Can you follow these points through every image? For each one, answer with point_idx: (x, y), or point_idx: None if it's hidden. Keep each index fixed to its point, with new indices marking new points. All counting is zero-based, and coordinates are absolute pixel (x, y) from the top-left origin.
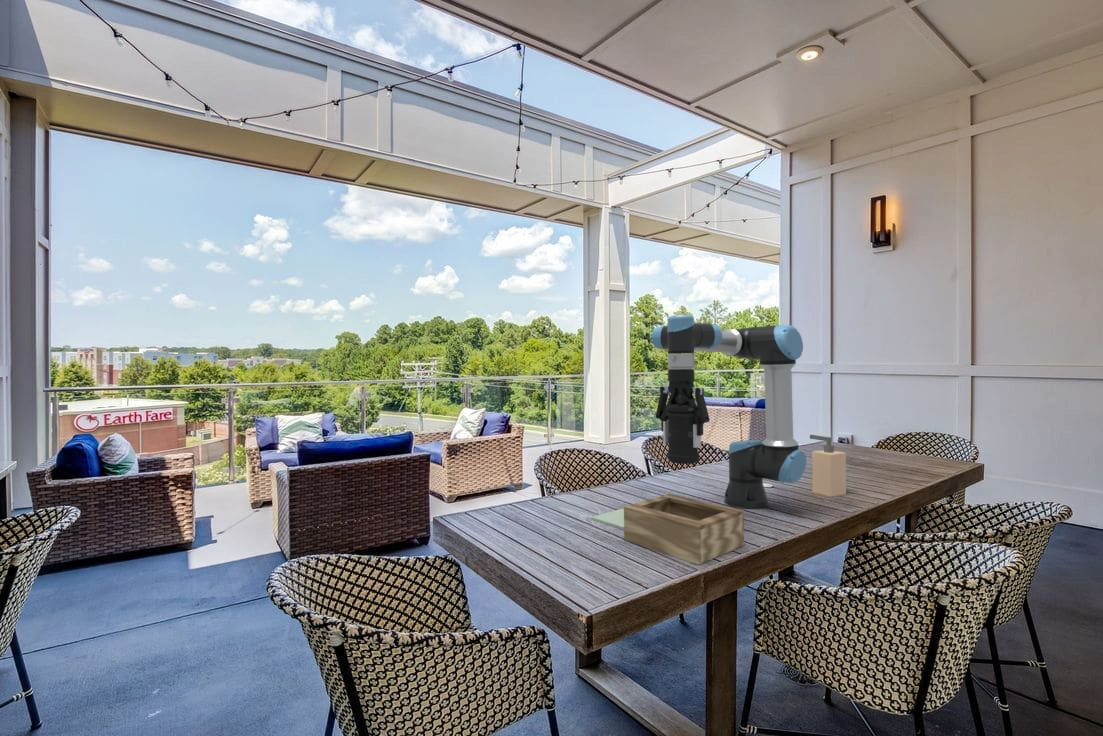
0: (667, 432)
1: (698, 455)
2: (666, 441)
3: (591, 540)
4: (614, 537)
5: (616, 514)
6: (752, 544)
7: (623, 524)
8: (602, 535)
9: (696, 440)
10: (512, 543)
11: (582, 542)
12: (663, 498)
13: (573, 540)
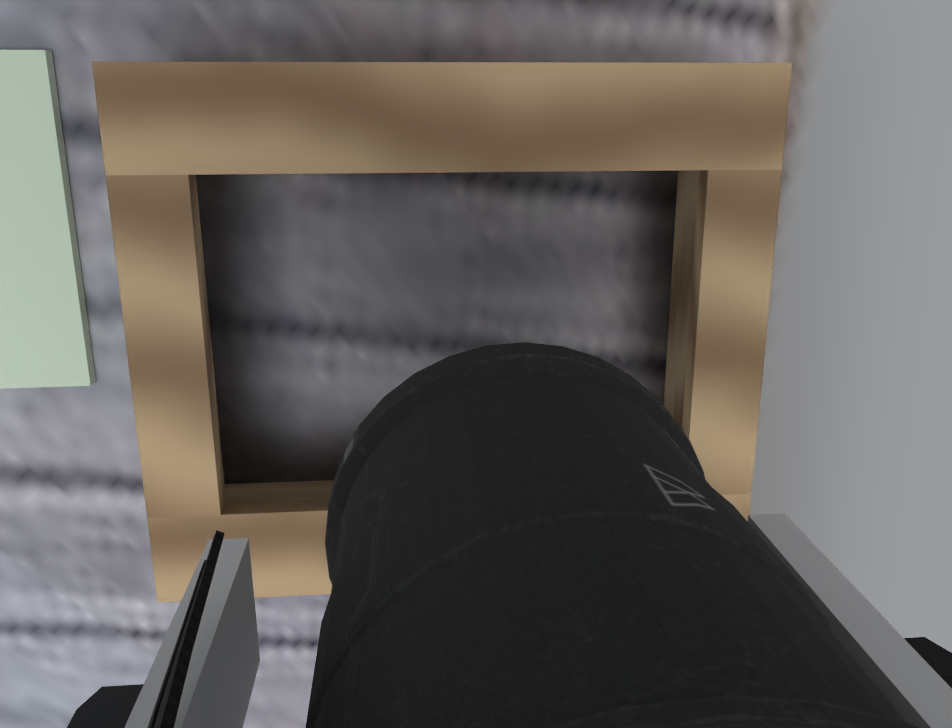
0: (223, 724)
1: (704, 475)
2: (253, 653)
3: (105, 627)
4: (141, 511)
5: None
6: (731, 20)
7: (13, 348)
8: (74, 536)
9: None
10: None
11: (102, 676)
12: (172, 231)
13: (49, 690)
